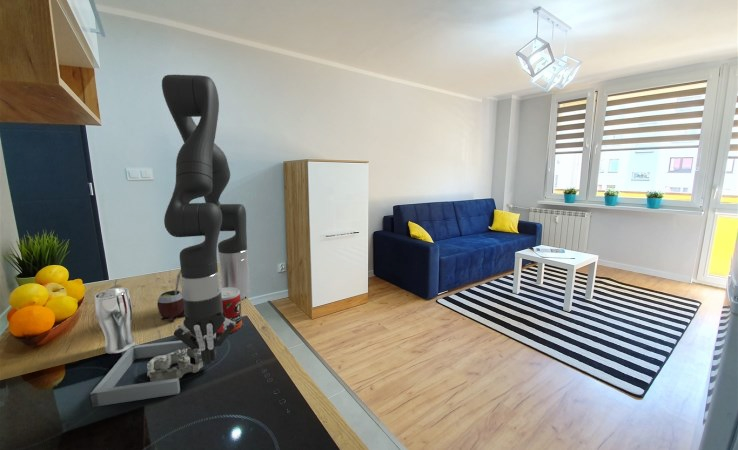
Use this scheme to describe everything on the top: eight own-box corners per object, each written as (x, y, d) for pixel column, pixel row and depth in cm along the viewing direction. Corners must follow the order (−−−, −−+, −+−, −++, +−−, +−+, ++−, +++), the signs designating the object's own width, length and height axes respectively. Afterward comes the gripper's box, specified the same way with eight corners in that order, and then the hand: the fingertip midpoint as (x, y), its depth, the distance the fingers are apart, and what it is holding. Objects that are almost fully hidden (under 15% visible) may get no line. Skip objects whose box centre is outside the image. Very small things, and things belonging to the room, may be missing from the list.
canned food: (231, 336, 84) (228, 299, 82) (206, 332, 86) (202, 296, 84) (247, 322, 92) (245, 288, 89) (224, 319, 93) (221, 285, 91)
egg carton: (149, 391, 64) (146, 374, 64) (148, 371, 70) (145, 356, 69) (205, 371, 71) (203, 355, 70) (200, 354, 77) (198, 340, 76)
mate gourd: (157, 325, 89) (150, 277, 86) (162, 313, 96) (156, 268, 93) (186, 320, 92) (181, 274, 89) (189, 309, 99) (185, 265, 96)
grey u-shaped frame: (132, 357, 75) (130, 346, 74) (199, 348, 79) (198, 338, 78) (92, 406, 60) (90, 393, 59) (178, 393, 63) (177, 381, 63)
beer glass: (114, 357, 74) (104, 301, 71) (96, 351, 77) (86, 296, 74) (143, 342, 81) (135, 289, 78) (126, 336, 83) (117, 285, 80)
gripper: (236, 283, 73) (242, 348, 76) (174, 288, 69) (183, 356, 73) (231, 296, 66) (237, 367, 69) (161, 302, 62) (171, 377, 66)
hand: (209, 361), depth 71 cm, fingers closed
